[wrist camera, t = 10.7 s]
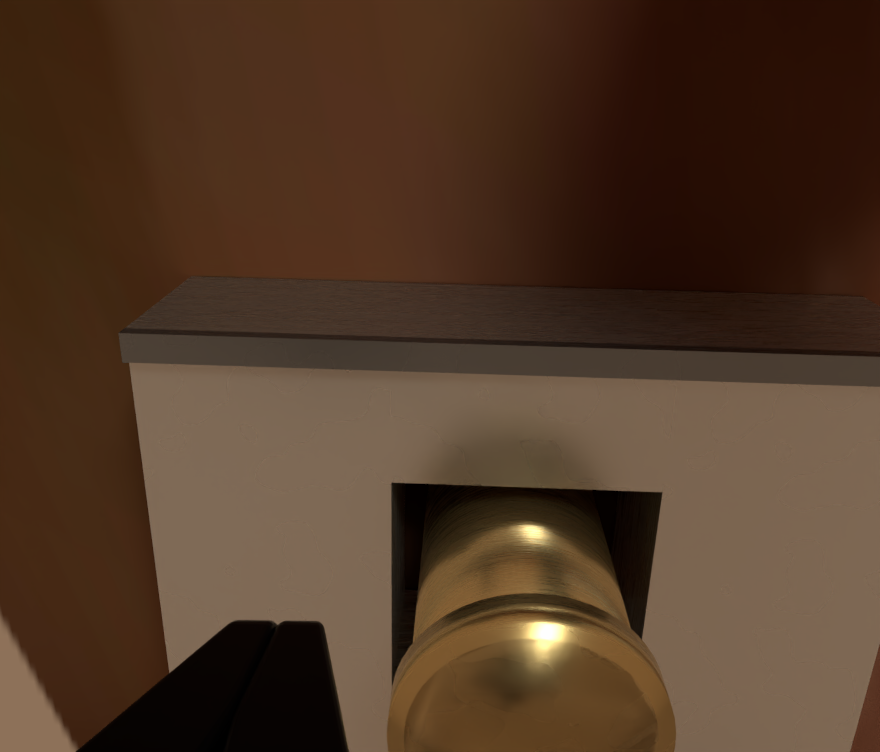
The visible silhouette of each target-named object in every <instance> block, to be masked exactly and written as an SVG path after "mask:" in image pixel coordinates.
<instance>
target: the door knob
mask: <svg viewBox="0 0 880 752" xmlns="http://www.w3.org/2000/svg"><path fill="white" fill-rule="evenodd" d="M675 742H676V725H675V717H674V713H673V710H672V706H671V702H670V699H669V696H668V693H667V690H666V686H665V683H664V680H663V677H662V674H661V670H660V668H659V666H658V664H657V662H656V659H655V657H654V656H653V654H652V653H651V651H650V650H649V648H648V647H647V645H646V644H645V643H644V642H643V640H642V639H641V638H640V637H639V636H638V635H637V634H636V633H635V632H634V631H633V630H632V629H631V627H630V623H629V620H628V616H627V613H626V609H625V606H624V602H623V598H622V595H621V591H620V588H619V584H618V581H617V577H616V574H615V570H614V567H613V563H612V560H611V556H610V552H609V549H608V545H607V542H606V538H605V535H604V531H603V528H602V524H601V521H600V517H599V514H598V510H597V506H596V503H595V499H594V496H593V492H592V490H586V489H558V488H530V487H502V486H474V485H446V484H429V488H428V492H427V502H426V513H425V523H424V533H423V543H422V554H421V564H420V574H419V584H418V595H417V605H416V615H415V625H414V635H413V643H412V645H411V646H410V647H409V648H408V650H407V652H406V653H405V655H404V656H403V658H402V659H401V662H400V664H399V666H398V669H397V671H396V673H395V677H394V681H393V685H392V691H391V699H390V707H389V715H388V724H387V745H388V752H674V750H675Z"/></svg>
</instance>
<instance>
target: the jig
mask: <svg viewBox="0 0 880 752" xmlns="http://www.w3.org/2000/svg"><path fill="white" fill-rule="evenodd" d="M119 340H120V348H121V355H122V362H123V363H129V365H130V372H131V380H132V388H133V395H134V403H135V411H136V419H137V426H138V434H139V442H140V450H141V457H142V465H143V473H144V481H145V488H146V496H147V504H148V511H149V519H150V527H151V535H152V542H153V550H154V558H155V566H156V573H157V581H158V589H159V596H160V604H161V612H162V620H163V627H164V635H165V643H166V651H167V658H168V666H169V673H170V672H171V671H172V670H174V669H175V668H176V667H177V666H178V665H180V664H181V663H182V662H183V661H184V660H186V659H187V658H188V657H189V656H190V655H192V654H193V653H194V652H195V651H196V650H197V649H199V648H200V647H201V646H202V645H203V644H205V643H206V642H207V641H208V640H209V639H211V638H212V637H213V636H214V635H215V634H217V633H218V632H219V631H220V630H221V629H222V628H224V627H225V626H226V625H227V624H229V623H230V622H232V621H235V620H271V621H274V622H275V623H276V624H277V625H278V624H279V623H281V622H283V621H286V620H292V621H319V622H321V623H322V624H323V626H324V629H325V633H326V638H327V643H328V648H329V653H330V658H331V663H332V668H333V673H334V678H335V683H336V688H337V693H338V698H339V703H340V708H341V713H342V718H343V723H344V728H345V733H346V738H347V743H348V748H349V752H388V745H387V724H388V715H389V707H390V699H391V691H392V685H393V681H394V677H395V673H396V671H397V669H398V666H399V664H400V662H401V659H402V658H403V656H404V655H405V653H406V652H407V650H408V648H409V647H410V646H411V645H412V643H413V635H414V625H415V615H416V605H417V595H418V590H416V589H405V483H418V484H446V485H474V486H502V487H530V488H558V489H586V490H614V491H618V498H617V506H616V515H615V524H614V532H613V541H612V549H611V560H612V563H613V567H614V570H615V574H616V577H617V581H618V584H619V588H620V591H621V595H622V598H623V602H624V606H625V609H626V613H627V616H628V620H629V623H630V627H631V629H632V630H633V631H634V632H635V633H636V634H637V635H638V636H639V637H640V638H641V639H642V640H643V642H644V643H645V644H646V645H647V647H648V648H649V650H650V651H651V653H652V654H653V656H654V657H655V659H656V662H657V664H658V666H659V668H660V670H661V674H662V677H663V680H664V683H665V686H666V690H667V693H668V696H669V699H670V702H671V706H672V710H673V713H674V717H675V725H676V742H675V750H674V752H850V750H851V746H852V743H853V739H854V735H855V732H856V728H857V724H858V721H859V717H860V713H861V710H862V706H863V702H864V699H865V695H866V691H867V688H868V684H869V680H870V677H871V673H872V670H873V666H874V662H875V659H876V655H877V651H878V648H879V644H880V306H878V305H877V304H875V303H873V302H872V301H870V300H868V299H867V298H865V297H863V296H833V295H799V294H765V293H731V292H697V291H663V290H629V289H595V288H561V287H527V286H493V285H459V284H425V283H391V282H357V281H323V280H289V279H255V278H221V277H190V278H189V279H187V280H186V281H185V282H184V283H182V284H181V285H180V286H178V287H177V288H176V289H175V290H173V291H172V292H171V293H169V294H168V295H167V296H166V297H164V298H163V299H162V300H160V301H159V302H158V303H157V304H155V305H154V306H153V307H151V308H150V309H149V310H148V311H146V312H145V313H144V314H142V315H141V316H140V317H139V318H137V319H136V320H135V321H133V322H132V323H131V324H130V325H128V326H127V327H126V328H125V329H123V330H122V331H121V332H119Z"/></svg>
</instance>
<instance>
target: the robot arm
mask: <svg viewBox="0 0 880 752" xmlns="http://www.w3.org/2000/svg"><path fill="white" fill-rule="evenodd" d="M76 752H349V748H348V743H347V738H346V733H345V728H344V723H343V718H342V713H341V708H340V703H339V698H338V693H337V688H336V683H335V678H334V673H333V668H332V663H331V658H330V653H329V648H328V643H327V638H326V633H325V629H324V626H323V624H322V623H321V622H319V621H292V620H286V621H283V622H281V623H279V624H278V625H277V624H276V623H275V622H274V621H271V620H235V621H232V622H230V623H229V624H227V625H226V626H225V627H224V628H222V629H221V630H220V631H219V632H218V633H217V634H215V635H214V636H213V637H212V638H211V639H209V640H208V641H207V642H206V643H205V644H203V645H202V646H201V647H200V648H199V649H197V650H196V651H195V652H194V653H193V654H192V655H190V656H189V657H188V658H187V659H186V660H184V661H183V662H182V663H181V664H180V665H178V666H177V667H176V668H175V669H174V670H172V671H171V672H170V673H169V674H168V675H167V676H165V677H164V678H163V679H162V680H161V681H159V682H158V683H157V684H156V685H155V686H153V687H152V688H151V689H150V690H149V691H147V692H146V693H145V694H144V695H143V696H142V697H140V698H139V699H138V700H137V701H136V702H134V703H133V704H132V705H131V706H130V707H128V708H127V709H126V710H125V711H124V712H122V713H121V714H120V715H119V716H118V717H117V718H115V719H114V720H113V721H112V722H111V723H109V724H108V725H107V726H106V727H105V728H103V729H102V730H101V731H100V732H99V733H97V734H96V735H95V736H94V737H93V738H92V739H90V740H89V741H88V742H87V743H86V744H84V745H83V746H82V747H81V748H80V749H78V750H77V751H76Z"/></svg>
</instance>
